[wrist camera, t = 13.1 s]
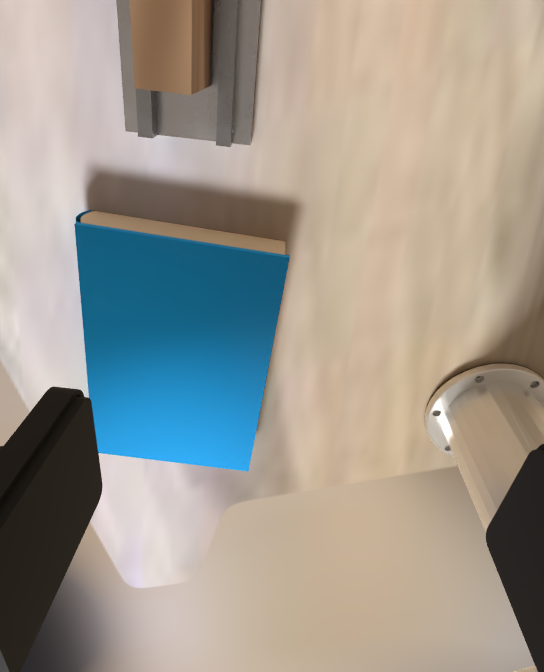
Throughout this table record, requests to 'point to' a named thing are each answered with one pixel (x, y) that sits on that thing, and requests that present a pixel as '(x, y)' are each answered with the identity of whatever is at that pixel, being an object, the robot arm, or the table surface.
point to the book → (177, 336)
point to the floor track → (210, 103)
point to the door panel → (172, 44)
